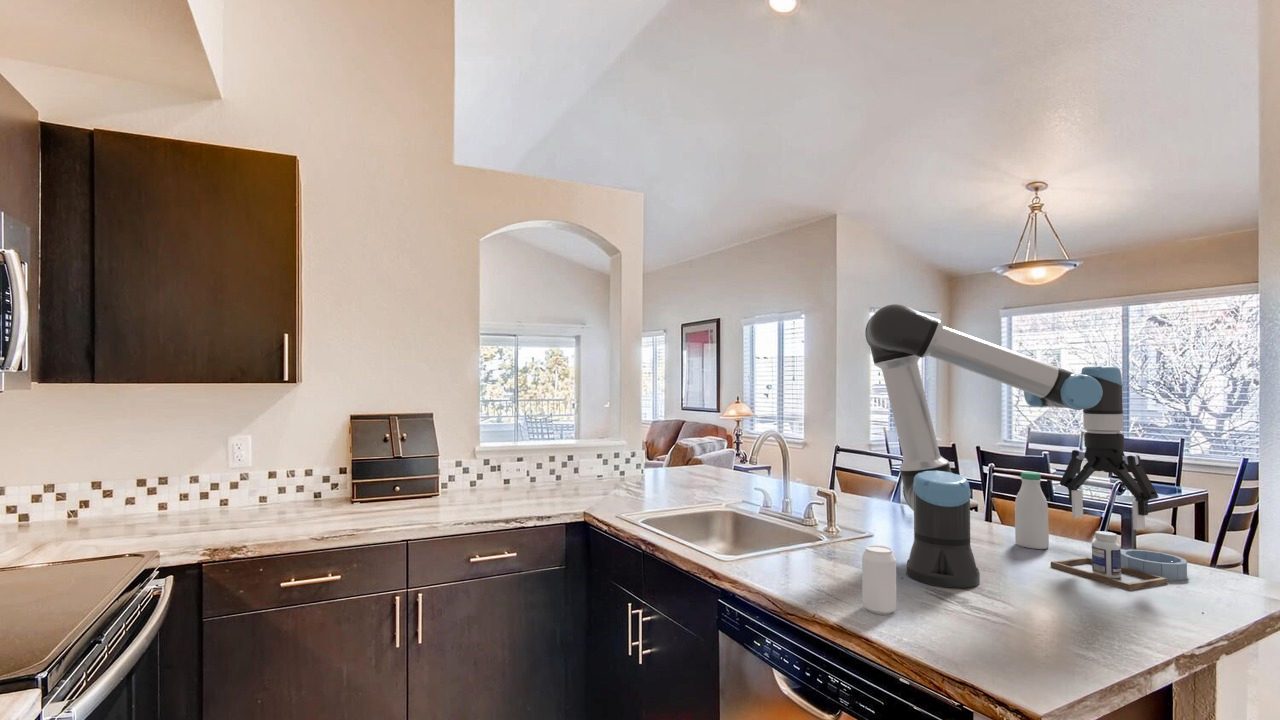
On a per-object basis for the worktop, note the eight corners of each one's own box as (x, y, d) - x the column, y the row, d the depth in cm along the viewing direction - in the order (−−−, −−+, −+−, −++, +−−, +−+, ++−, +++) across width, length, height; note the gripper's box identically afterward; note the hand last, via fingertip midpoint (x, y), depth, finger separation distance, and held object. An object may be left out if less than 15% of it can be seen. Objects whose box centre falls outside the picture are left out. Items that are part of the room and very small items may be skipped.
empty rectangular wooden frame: (1129, 590, 132) (1129, 584, 132) (1050, 566, 149) (1050, 561, 149) (1167, 583, 137) (1167, 578, 137) (1086, 561, 153) (1086, 556, 153)
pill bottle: (1117, 573, 144) (1116, 531, 144) (1124, 580, 139) (1123, 536, 139) (1089, 570, 146) (1088, 529, 147) (1095, 576, 141) (1094, 534, 142)
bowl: (1165, 582, 138) (1165, 566, 138) (1109, 567, 149) (1108, 552, 149) (1199, 576, 142) (1199, 561, 142) (1141, 562, 153) (1141, 547, 153)
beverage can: (894, 618, 116) (893, 554, 116) (860, 612, 119) (859, 550, 119) (898, 608, 121) (897, 547, 122) (865, 602, 124) (864, 542, 125)
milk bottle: (1054, 550, 163) (1052, 475, 164) (1022, 549, 165) (1020, 474, 165) (1041, 543, 171) (1040, 471, 171) (1010, 541, 172) (1009, 470, 173)
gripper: (1175, 435, 133) (1179, 533, 133) (1062, 427, 157) (1065, 511, 156) (1152, 436, 131) (1156, 536, 130) (1041, 428, 154) (1044, 513, 154)
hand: (1107, 523), depth 143 cm, fingers open, 13 cm apart
